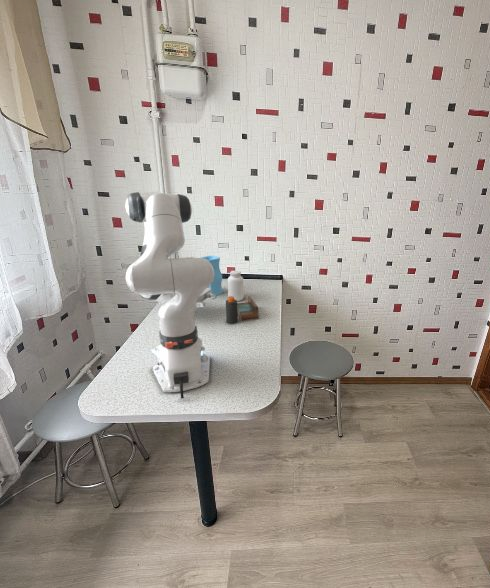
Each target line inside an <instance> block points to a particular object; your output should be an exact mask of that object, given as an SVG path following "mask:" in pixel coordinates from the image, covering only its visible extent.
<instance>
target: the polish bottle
mask: <svg viewBox="0 0 490 588" xmlns="http://www.w3.org/2000/svg"><path fill="white" fill-rule="evenodd" d="M237 303H238V301H237V300H234V297H233V296H230V297H227V300H226V301H225V317H226V318H225V319H226V323H227V324H229V325H235V324H237V323H238V321H239V316H238V312H237Z"/></svg>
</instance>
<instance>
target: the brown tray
mask: <svg viewBox="0 0 490 588" xmlns="http://www.w3.org/2000/svg"><path fill="white" fill-rule="evenodd" d="M237 312H238V319H240V321H241V322H243V321H252V320H257V319H259V306H258V305H257V303H256V302H255V300H254V299H253V298H252V296H250V295H249V296H247V301H245V302H237Z"/></svg>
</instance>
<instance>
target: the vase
mask: <svg viewBox="0 0 490 588" xmlns="http://www.w3.org/2000/svg"><path fill="white" fill-rule="evenodd" d="M200 258H203V259H207V260H208V261H209V262H210V263H211V265H212V267H213V269H214V279H213V282H212V283H211V285H210V286H209V287H208V288H210V289H211V290H212V294H213V295H216V296H219V295H221V294H224V291H223V286H222V283H223V274H222V271H221V269H220V268H221V267H220V262H221V257H219V256H216V255H211V254H210V255H206V256H201V257H200Z"/></svg>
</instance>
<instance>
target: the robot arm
mask: <svg viewBox="0 0 490 588" xmlns="http://www.w3.org/2000/svg"><path fill="white" fill-rule="evenodd" d="M124 204H125V205H124V208H125V211H126V214H127V216H128V217H129V219H130V220H131V221H133V222H136V223H143V224H144V237H143V243H142V247H141V250H140V257H138V259H136V260H135V261H134V262H132V263H131V264H130V265H128V267H127V268H126V272H125V283H126V285H127V288H128V289H129V290H130V291H131V292H132V293H134V294H136V295H139V296H140V297H141V298H143V299H145V300H149V301H156V302H159V303H161V304H162V305H161V306H160V308H159V309H158V312H157V317H158V324H159V333H158V334H159V335H158V337H159V342H160V343H159V345H158V346H156V350H155V349H151V352H152V353H153V354H155V356H157V364H155V365H154V366H153V367H152V371H153V374H154V376H155V378H156V380H157V382H158V384H159V386H160V388H161V389H162V392H164V393H179V392H180V393H179V394H180V399H181V400H182V399H184V397H185V396H184V392H186V391H190V390H193V389H196V388H199V387H202V386H204V385H206V384H207V383H209V381H210V367H211V358H210V356H209V355H207V354H205V353H204V351H205V346H203V339H201V338H200V337H199V335H198V334H199V331H198V327H197V325H196V308H204V307H205V306H206V303H205V302H204V301H206V300H207V299H211V300H215V299H217V295H213V294H212V290H211V289H210V288H208V287H209V286H210V285H211V283H212V282H213V279H214V269H213V267H212V265H211V263H210V262H209V261H208V260H207V259H203V258H201V257H195V256H194V257H193V256H190V257H189V256H188V257H173V258H170V257H171V256H172V255H174V254H176V253H178V252H179V251H180V250H181V249H182V248H183V247H184V246H185V242H186V239H185V233H184V232H185V231H184V228H183V227H184V226H183V223H187V222H189V220H191V217H192V214H193V206H192V203H191V201H190V199H189V197H188V196H186V195H184V194H180V193H178V194H175V193H167V192H159V191H157V192H156V191H155V192H154V191H152V192H150V191H149V192H148V191H147V192H139V191H137V192H131V193H129V194H128V195H127V197H126V200H125V203H124Z"/></svg>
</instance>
